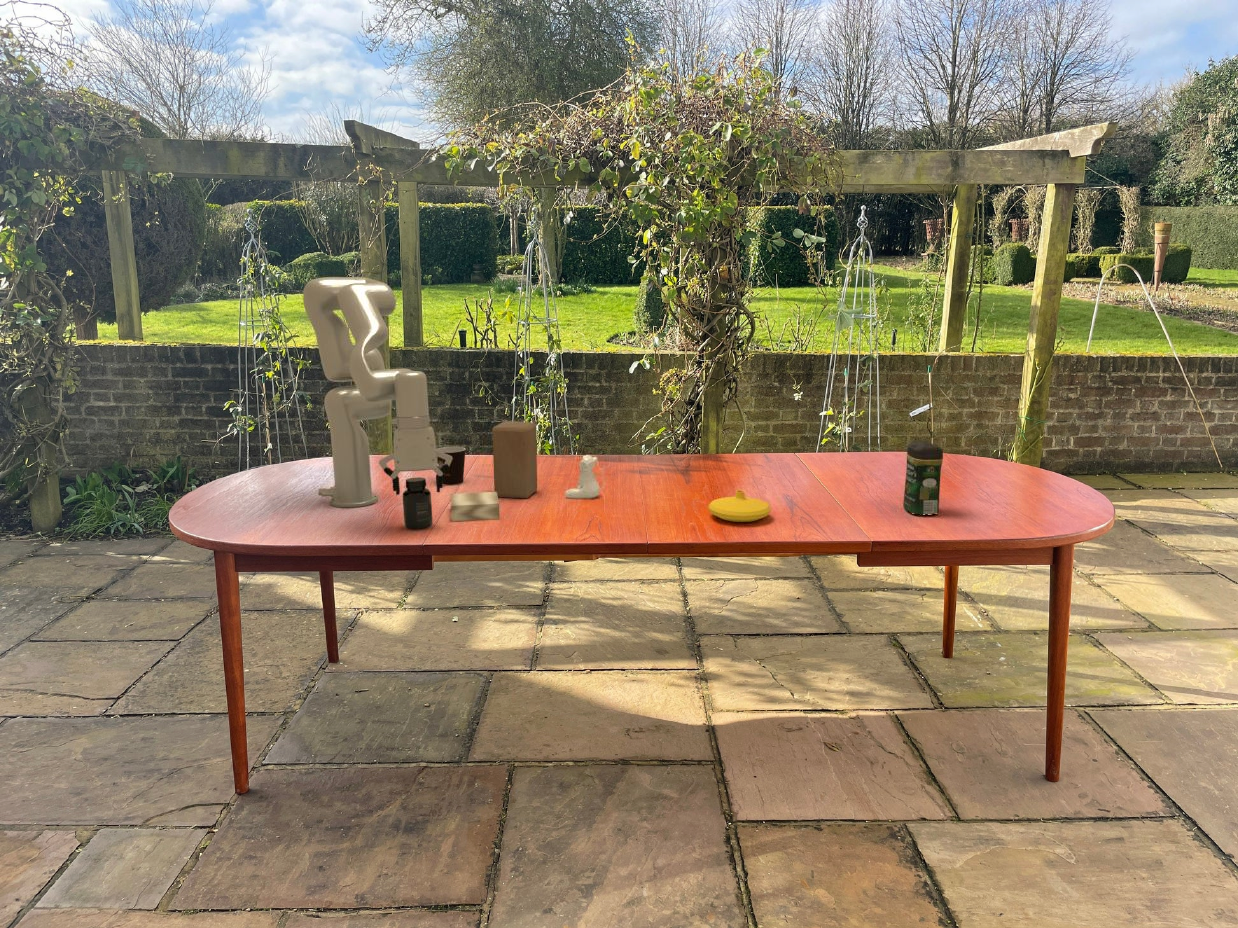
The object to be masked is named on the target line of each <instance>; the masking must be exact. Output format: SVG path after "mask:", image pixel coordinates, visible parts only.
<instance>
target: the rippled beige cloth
mask: <svg viewBox="0 0 1238 928" xmlns="http://www.w3.org/2000/svg"><path fill="white" fill-rule="evenodd" d="M450 514H451V515H450V516H451V519H450V520H451V522H463V521H465V522H466V521H481V520H482V521H484V520H485V521H486V520H499V519H500V516H501V515H500V514H501V513H500V501H499V497H498V496H497V492H494V491H489V492H488V491H485V492H465V493H451V494H450Z"/></svg>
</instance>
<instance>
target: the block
mask: <svg viewBox="0 0 1238 928" xmlns="http://www.w3.org/2000/svg"><path fill="white" fill-rule="evenodd" d="M537 449H538V448H537V425H536V423H534V422H532V421H531V422H530V421H508V420H507V421H503V422H500V423H499V424H497V425H495V426H493V427H492V455H493V457H492V458H493V460H492V462H493V483H494V484H493V489H494V490H493V492H497V496H498V498H507V499H508V498H510V499H511V498H512V499H528V498H529V497H531V496H532V495H534V493H535V492H537V490H538V455H537V454H538V453H537Z"/></svg>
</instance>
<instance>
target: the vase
mask: <svg viewBox="0 0 1238 928" xmlns="http://www.w3.org/2000/svg"><path fill="white" fill-rule="evenodd" d="M771 508H772V507H771V505H769V503H767V502H766V501H764V500H762V499H759V498H754V497H748V496H745V491H744V490H736V491H735V496H727V497H726V496H725V497H720V498H717V499H714V500H712V501H711V502H709V504H708V511H709V513H711V514H712V515H714V516H716V517H718V518H720V519H722V520H724V521H729V522H734V523H735V522H736V523H739V522H740V523H747V522H755V521H759V520H760V519H763V518H765V517H767V516H769V515H770V513H771Z"/></svg>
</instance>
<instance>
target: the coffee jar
mask: <svg viewBox="0 0 1238 928" xmlns="http://www.w3.org/2000/svg"><path fill="white" fill-rule="evenodd" d="M943 460H944V450H943V448H941V447H940V446H938V445H936V444H934V443H932V442H929V441H928V440H913V441H911V442H910V443H909V444H908V445H907V450H906V469H905V470H906V471H905V480H904V481H905V483H904V494H903V503H902V504H903V508H904V510H905V509H906V510H905V511H906V512H908V511H909V512H910V513H909V512H908V513H909V514H911V513H914V514H920V515H919V516H921V515H923V514H925V515H928V514H935V513H938V514H939V513H940V512H939V511H940V509H939V508H940V492H941V491H940V490H941V489H940V488H941V474H942V473H941V472H942V467H943V466H942V465H943Z"/></svg>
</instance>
